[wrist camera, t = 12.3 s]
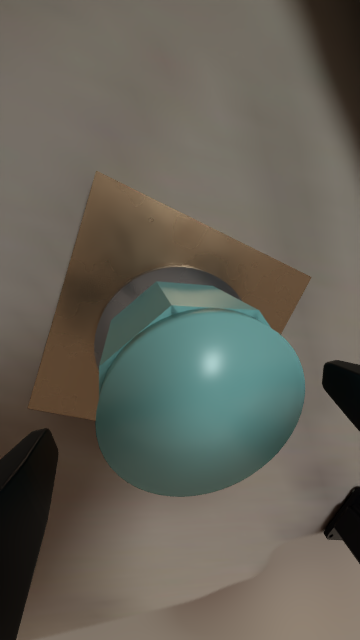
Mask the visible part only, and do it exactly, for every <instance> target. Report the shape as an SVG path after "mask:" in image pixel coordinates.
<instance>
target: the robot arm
mask: <svg viewBox="0 0 360 640" xmlns="http://www.w3.org/2000/svg"><path fill="white" fill-rule="evenodd" d="M322 385H323V388H324V390H325V391H326V392H327V393H328V395H329V396H330V397H331V398H332V399H333V401H334V402H335V403H336V404H337V405H338V407H339V408H340V409H341V410H342V411H343V413H344V414H345V415H346V416H347V417H348V418H349V420H350V421H351V422H352V423H353V424H354V426H355V427H356V428H357V429H358V430H359V431H360V365H358V364H353V363H349V362H344V361H340V360H334V361H330V362H327V363H325V365H324V368H323V378H322ZM57 462H58V449H57V446H56V444H55V441H54V439H53V436H52V434H51V432H50V430H49V429H47V428H45V429H40V430H36V431H33V432H31V433H30V434H29V435H28V436H26V437H25V438H24V439H23V440H22V441H21V442H20V443H19V444H17V445H16V446H15V447H14V448H13V449H12V450H11V451H10V452H8V453H7V454H6V455H5V456H4V457H3V458H2V459H0V640H16V638H17V634H18V630H19V626H20V623H21V619H22V615H23V611H24V607H25V604H26V600H27V596H28V592H29V589H30V585H31V581H32V577H33V573H34V570H35V566H36V562H37V558H38V554H39V551H40V547H41V543H42V539H43V536H44V532H45V528H46V524H47V520H48V515H49V510H50V504H51V498H52V492H53V486H54V480H55V474H56V468H57ZM324 535H325V536H326V538H327V539H329V540H330V539H331V540H343V541H344V542H345V544H346V545H347V547H348V548H349V549H350V551H351V552H352V554H353V555H354V557H355V558H356V559H357V561H358V562H359V564H360V488H357V489H356V490H355V491H354V492H353V493H352V495H351V496H350V497H349V499H348V500H347V501H346V503H345V504H344V505H343V507H342V508H341V510H340V511H339V512H338V514H337V515H336V516H335V518H334V519H333V520H332V522H331V523H330V524H329V526H328V527H327V528H326V530H325V531H324Z"/></svg>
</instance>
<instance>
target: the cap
mask: <svg viewBox="0 0 360 640" xmlns="http://www.w3.org/2000/svg"><path fill="white" fill-rule="evenodd" d="M304 396H305V379H304V374H303V369H302V366H301V363H300V360H299V358H298V356H297V355H296V353H295V351H294V349H293V348H292V347H291V345H290V344H289V343H288V342H287V340H285V339H284V338H283V337H282V336H281V335H280V334H279V333H278V332H276V331H275V330H273V329H272V328H271V327H270V325H269V324H268V323H267V321H266V320H265V318H264V317H263V315H262V314H261V312H260V311H259V310H258V309H256V308H254V307H252V306H250V305H248V304H246V303H244V302H243V301H241V300H239V299H237V298H235V297H233V296H231V295H229V294H227V293H225V292H224V291H222V290H220V289H218V288H216V287H214V286H208V285H196V284H183V283H171V282H158V281H156V282H155V283H154V284H153V285H151V286H150V287H149V288H148V289H147V290H146V291H144V292H143V293H142V294H141V295H140V296H139V297H137V298H136V299H135V300H134V301H133V302H132V303H130V304H129V305H128V306H127V307H126V308H125V309H123V310H122V311H121V312H120V313H119V314H118V315H116V316H115V317H114V318H113V319H112V320H111V323H110V327H109V331H108V334H107V338H106V342H105V346H104V349H103V353H102V357H101V361H100V365H99V401H98V406H97V411H96V422H95V425H96V436H97V440H98V444H99V447H100V450H101V452H102V454H103V456H104V458H105V460H106V461H107V463H108V464H109V466H110V467H111V468H112V469H113V470H114V471H115V472H116V473H117V474H118V475H119V476H120V477H121V478H122V479H124V480H125V481H126V482H128V483H130V484H131V485H133V486H135V487H137V488H139V489H142V490H144V491H147V492H150V493H154V494H158V495H164V496H176V497H185V496H196V495H202V494H207V493H211V492H215V491H218V490H221V489H224V488H227V487H229V486H232V485H234V484H236V483H238V482H240V481H242V480H244V479H245V478H247V477H249V476H250V475H252V474H253V473H255V472H256V471H258V470H259V469H260V468H262V467H263V466H264V465H265V464H266V463H268V462H269V461H270V460H271V459H272V458H273V457H274V456H275V455H276V454H277V453H278V452H279V451H280V449H281V448H282V447H283V446H284V444H285V443H286V442H287V440H288V439H289V437H290V436H291V434H292V432H293V430H294V428H295V427H296V425H297V422H298V420H299V417H300V415H301V411H302V407H303V403H304Z"/></svg>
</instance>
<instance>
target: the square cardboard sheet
mask: <svg viewBox="0 0 360 640" xmlns="http://www.w3.org/2000/svg"><path fill="white" fill-rule="evenodd" d="M310 279H311V277H310V276H308V275H306V274H304V273H302V272H300V271H298V270H296V269H294V268H292V267H290V266H288V265H286V264H284V263H282V262H280V261H278V260H276V259H274V258H272V257H270V256H268V255H265V254H263V253H261V252H259V251H257V250H255V249H253V248H251V247H249V246H247V245H245V244H243V243H241V242H239V241H237V240H235V239H233V238H231V237H229V236H227V235H225V234H223V233H221V232H219V231H217V230H215V229H213V228H211V227H209V226H207V225H205V224H203V223H201V222H199V221H197V220H195V219H193V218H191V217H189V216H187V215H185V214H183V213H181V212H179V211H177V210H175V209H173V208H171V207H168V206H166V205H164V204H162V203H160V202H158V201H156V200H154V199H152V198H150V197H148V196H146V195H144V194H142V193H140V192H138V191H136V190H134V189H132V188H130V187H128V186H126V185H124V184H122V183H120V182H118V181H116V180H114V179H112V178H110V177H108V176H106V175H104V174H102V173H100V172H98V171H96V174H95V177H94V180H93V184H92V187H91V191H90V194H89V198H88V201H87V205H86V208H85V212H84V215H83V218H82V222H81V225H80V229H79V232H78V236H77V239H76V243H75V246H74V250H73V253H72V257H71V260H70V263H69V267H68V270H67V274H66V277H65V281H64V284H63V288H62V291H61V295H60V298H59V302H58V305H57V308H56V312H55V315H54V319H53V322H52V326H51V329H50V333H49V336H48V340H47V343H46V346H45V350H44V353H43V357H42V360H41V364H40V367H39V371H38V374H37V378H36V381H35V385H34V388H33V391H32V395H31V398H30V402H29V405H28V409H34V410H39V411H45V412H50V413H56V414H61V415H67V416H72V417H78V418H83V419H89V420H94V421H96V411H97V406H98V401H99V365H100V361H101V357H102V353H103V349H104V346H105V342H106V338H107V334H108V331H109V327H110V323H111V320H112V319H113V318H114V317H115V316H116V315H118V314H119V313H120V312H121V311H122V310H123V309H125V308H126V307H127V306H128V305H129V304H130V303H132V302H133V301H134V300H135V299H136V298H137V297H139V296H140V295H141V294H142V293H143V292H144V291H146V290H147V289H148V288H149V287H150V286H151V285H153V284H154V283H155V282H156V281H158V282H171V283H183V284H196V285H208V286H214V287H216V288H218V289H220V290H222V291H224V292H225V293H227V294H229V295H231V296H233V297H235V298H237V299H239V300H241V301H243V302H244V303H246V304H248V305H250V306H252V307H254V308H256V309H258V310H259V311H260V312H261V314H262V315H263V317H264V318H265V320H266V321H267V323H268V324H269V325H270V327H271V328H272V329H273V330H275V331H276V332H278V333H279V334H280V335H281V333H282V331H283V329H284V327H285V326H286V324H287V322H288V320H289V318H290V316H291V314H292V313H293V311H294V309H295V307H296V305H297V303H298V301H299V300H300V298H301V296H302V294H303V292H304V290H305V288H306V287H307V285H308V283H309V281H310Z"/></svg>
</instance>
